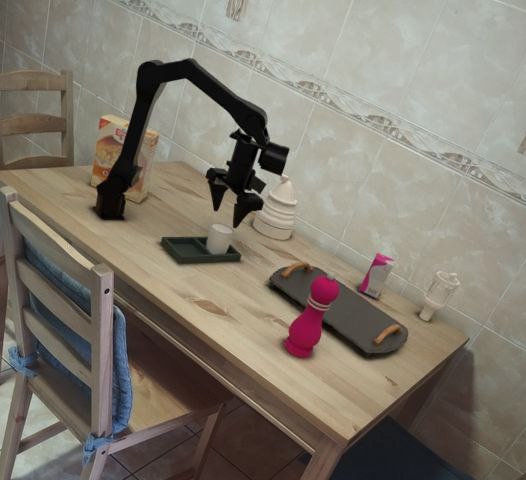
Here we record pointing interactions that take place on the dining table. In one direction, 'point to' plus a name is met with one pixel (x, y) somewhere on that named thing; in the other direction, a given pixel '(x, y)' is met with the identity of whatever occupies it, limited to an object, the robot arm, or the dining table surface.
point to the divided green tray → (196, 251)
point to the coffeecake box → (110, 149)
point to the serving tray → (344, 311)
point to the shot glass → (219, 238)
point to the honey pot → (278, 211)
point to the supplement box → (377, 275)
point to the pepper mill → (312, 316)
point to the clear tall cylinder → (438, 293)
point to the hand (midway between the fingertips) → (224, 219)
